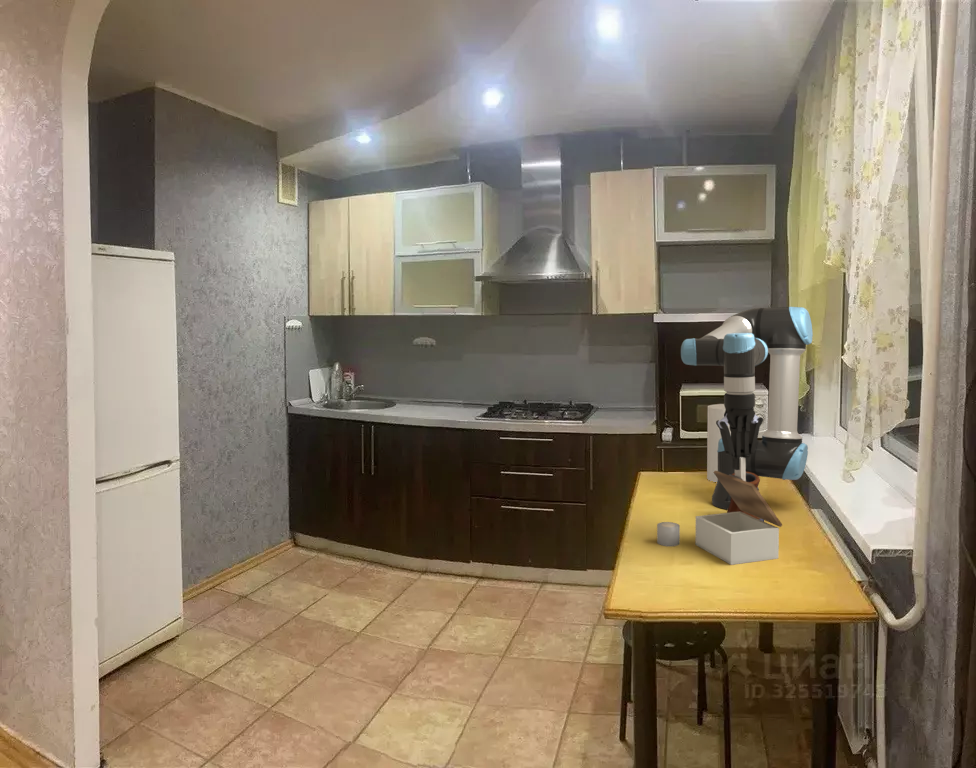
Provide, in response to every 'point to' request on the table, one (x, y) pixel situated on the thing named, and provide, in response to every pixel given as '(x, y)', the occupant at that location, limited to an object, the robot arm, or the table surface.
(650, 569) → the table surface
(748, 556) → the box
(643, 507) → the table surface
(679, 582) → the table surface
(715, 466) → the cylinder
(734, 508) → the mug
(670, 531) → the grey squat drum
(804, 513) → the table surface
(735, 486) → the lid
